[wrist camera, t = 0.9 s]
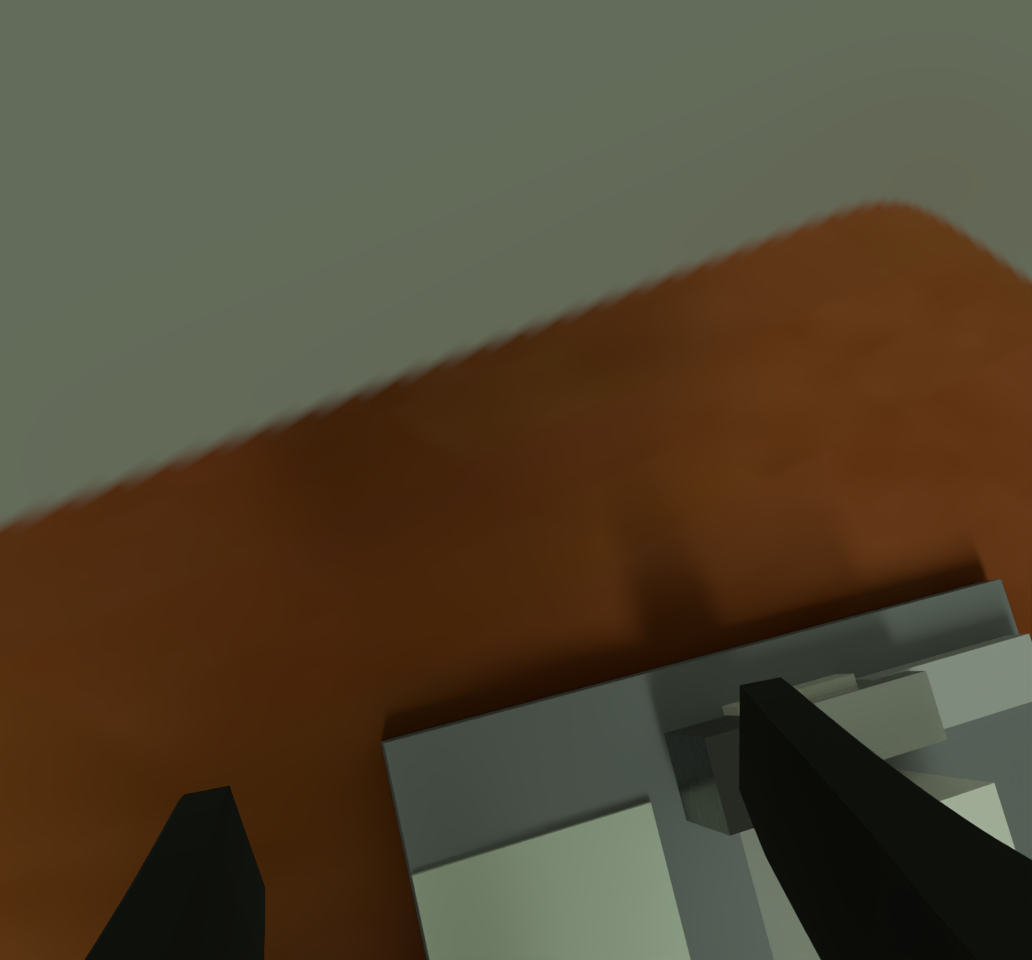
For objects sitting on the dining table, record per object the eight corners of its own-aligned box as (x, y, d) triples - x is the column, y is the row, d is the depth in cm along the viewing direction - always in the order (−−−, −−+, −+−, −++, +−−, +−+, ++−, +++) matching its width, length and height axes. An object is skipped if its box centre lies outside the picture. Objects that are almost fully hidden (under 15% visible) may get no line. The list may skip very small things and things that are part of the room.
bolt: (926, 744, 27) (991, 750, 25) (686, 820, 25) (730, 835, 23) (902, 664, 28) (963, 662, 25) (663, 733, 26) (704, 738, 23)
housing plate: (1106, 976, 30) (1162, 995, 28) (485, 1240, 24) (500, 1287, 22) (979, 582, 32) (1023, 575, 30) (380, 741, 26) (386, 745, 24)
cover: (927, 935, 27) (1058, 987, 23) (782, 991, 26) (889, 1058, 21) (848, 670, 29) (957, 666, 24) (706, 710, 27) (792, 715, 23)
